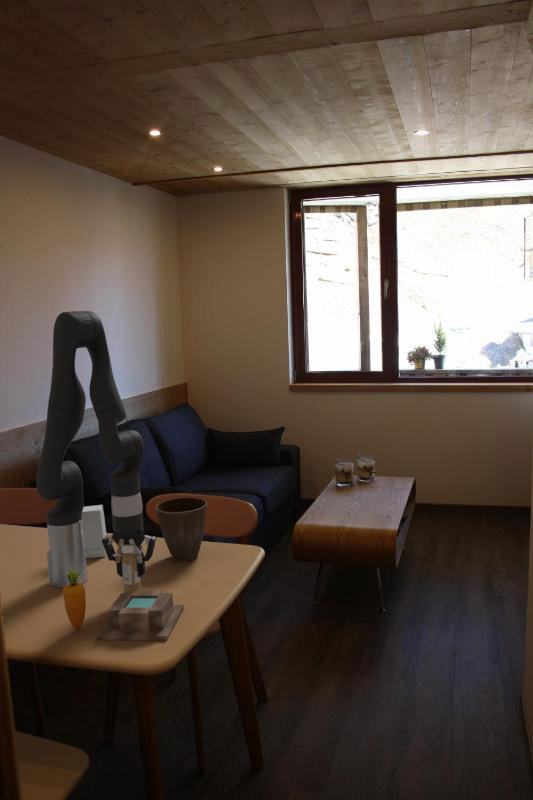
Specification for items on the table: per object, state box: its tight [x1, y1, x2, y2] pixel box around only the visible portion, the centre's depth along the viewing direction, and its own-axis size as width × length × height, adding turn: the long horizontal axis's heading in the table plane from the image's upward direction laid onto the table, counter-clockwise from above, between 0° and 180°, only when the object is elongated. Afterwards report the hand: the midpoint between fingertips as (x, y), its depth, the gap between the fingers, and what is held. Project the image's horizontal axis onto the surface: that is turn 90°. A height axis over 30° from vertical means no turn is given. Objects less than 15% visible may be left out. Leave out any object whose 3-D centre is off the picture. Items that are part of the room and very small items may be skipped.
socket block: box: [97, 589, 185, 641], centre depth 163 cm, size 16×16×6 cm
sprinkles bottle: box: [121, 545, 142, 593], centre depth 176 cm, size 5×5×13 cm
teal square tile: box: [126, 598, 157, 608], centre depth 163 cm, size 6×6×1 cm
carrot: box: [62, 569, 87, 632], centre depth 161 cm, size 5×5×15 cm
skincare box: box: [82, 504, 108, 559], centre depth 211 cm, size 8×6×15 cm
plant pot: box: [155, 497, 208, 562], centre depth 205 cm, size 15×15×16 cm
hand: (131, 575), depth 177 cm, fingers closed on sprinkles bottle, 4 cm apart
